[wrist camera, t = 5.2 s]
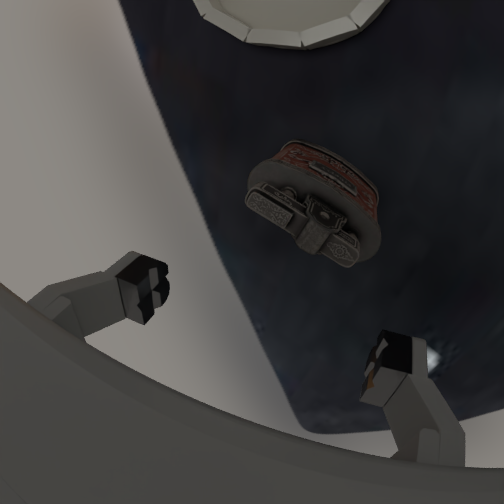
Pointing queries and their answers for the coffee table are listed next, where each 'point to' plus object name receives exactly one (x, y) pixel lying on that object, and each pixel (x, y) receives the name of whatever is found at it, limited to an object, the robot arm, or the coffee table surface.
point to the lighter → (318, 202)
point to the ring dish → (291, 20)
